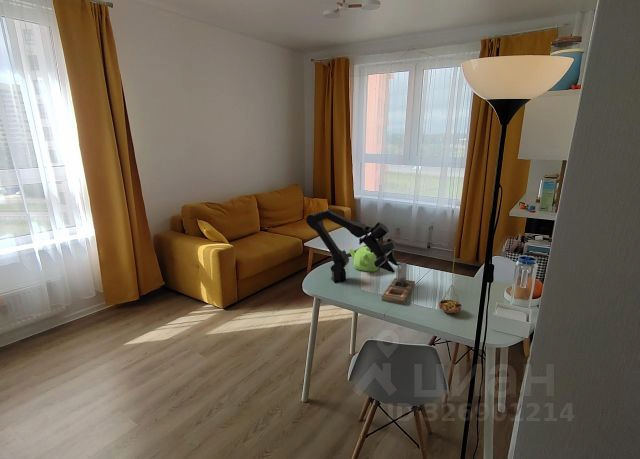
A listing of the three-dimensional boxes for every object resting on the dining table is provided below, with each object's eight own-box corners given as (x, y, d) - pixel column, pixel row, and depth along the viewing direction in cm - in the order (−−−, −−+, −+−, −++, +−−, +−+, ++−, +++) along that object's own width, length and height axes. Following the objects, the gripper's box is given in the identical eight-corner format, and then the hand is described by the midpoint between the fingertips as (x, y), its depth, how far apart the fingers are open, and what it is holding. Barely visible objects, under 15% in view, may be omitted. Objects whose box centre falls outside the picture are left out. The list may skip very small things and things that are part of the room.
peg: (399, 291, 165) (401, 266, 162) (395, 287, 169) (396, 263, 165) (407, 290, 166) (408, 265, 163) (402, 286, 170) (404, 262, 167)
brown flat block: (403, 305, 152) (403, 299, 151) (381, 300, 156) (381, 295, 155) (414, 286, 171) (414, 281, 170) (394, 282, 175) (394, 277, 174)
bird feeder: (462, 318, 140) (469, 248, 132) (439, 316, 142) (445, 247, 134) (458, 308, 148) (464, 241, 140) (437, 306, 150) (442, 241, 142)
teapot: (342, 271, 191) (342, 249, 188) (355, 260, 208) (356, 239, 205) (374, 276, 183) (374, 253, 180) (385, 264, 200) (385, 243, 197)
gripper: (381, 240, 155) (405, 265, 154) (389, 229, 172) (411, 252, 171) (364, 254, 160) (387, 279, 159) (373, 243, 177) (394, 265, 176)
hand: (395, 268), depth 166 cm, fingers open, 9 cm apart
